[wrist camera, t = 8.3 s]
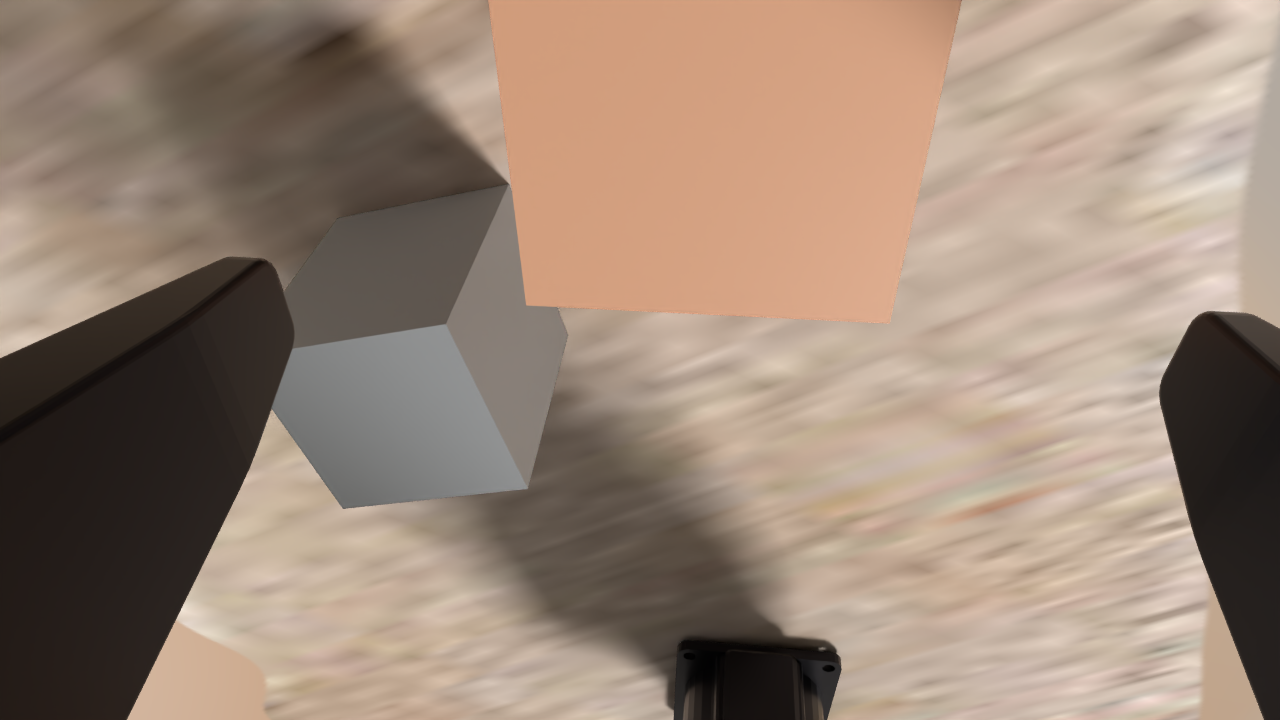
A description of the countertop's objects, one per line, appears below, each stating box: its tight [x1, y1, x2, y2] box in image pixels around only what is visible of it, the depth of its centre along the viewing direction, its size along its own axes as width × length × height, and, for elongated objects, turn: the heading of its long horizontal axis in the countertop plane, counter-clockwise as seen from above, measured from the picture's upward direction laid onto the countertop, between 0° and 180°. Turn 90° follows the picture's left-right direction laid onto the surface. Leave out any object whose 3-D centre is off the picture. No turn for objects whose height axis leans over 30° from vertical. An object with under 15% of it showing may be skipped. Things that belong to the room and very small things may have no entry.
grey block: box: [272, 184, 568, 509], centre depth 21 cm, size 5×5×6 cm
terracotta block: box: [488, 0, 962, 323], centre depth 12 cm, size 5×5×6 cm
